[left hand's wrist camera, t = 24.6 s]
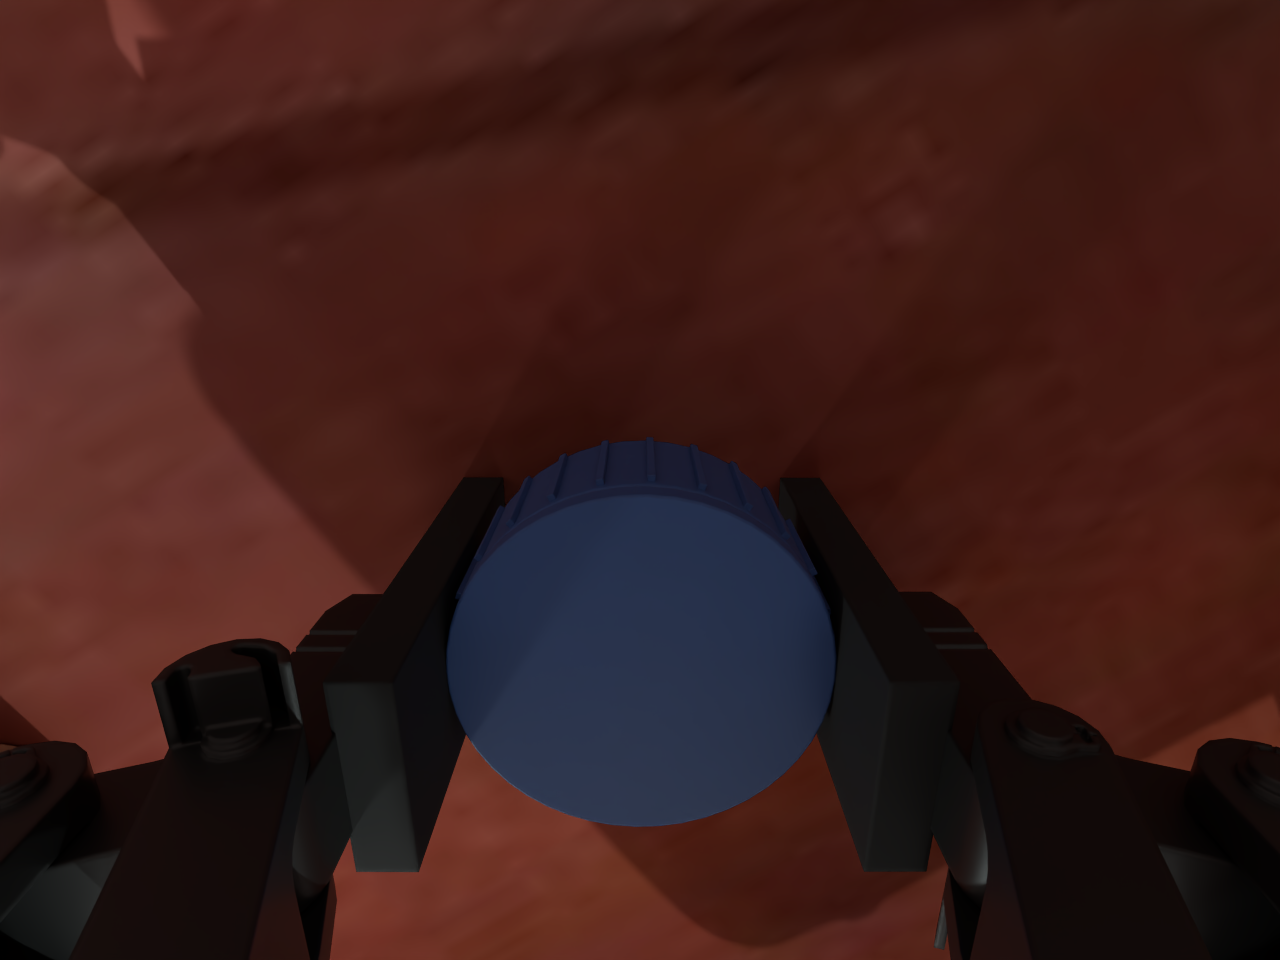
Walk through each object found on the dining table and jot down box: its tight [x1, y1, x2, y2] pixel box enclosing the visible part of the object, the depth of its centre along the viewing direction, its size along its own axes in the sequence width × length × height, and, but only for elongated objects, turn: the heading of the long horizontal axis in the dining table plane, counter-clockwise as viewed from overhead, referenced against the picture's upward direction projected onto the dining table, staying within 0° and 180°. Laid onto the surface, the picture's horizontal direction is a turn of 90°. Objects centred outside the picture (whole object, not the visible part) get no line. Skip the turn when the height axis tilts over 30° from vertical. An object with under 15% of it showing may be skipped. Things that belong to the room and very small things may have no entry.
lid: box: [446, 437, 837, 827], centre depth 11 cm, size 6×6×2 cm
